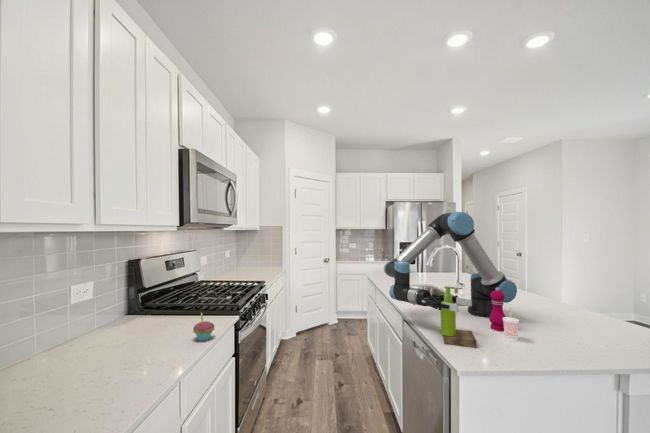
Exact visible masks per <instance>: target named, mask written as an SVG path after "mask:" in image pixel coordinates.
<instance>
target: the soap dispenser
mask: <svg viewBox="0 0 650 433" xmlns="http://www.w3.org/2000/svg"><path fill="white" fill-rule="evenodd" d="M443 289H445V293H444V294H443V295H444V301H443V302H446V303H451V304H456V303H453V302H452V296H453V295H452V294H451V290H456V291H457V290H458V289H459V288H458V287H454V286H450V285H449V286H443ZM441 304H442V302H441ZM456 313H457V312H455V311H451V310H446V309H442V308H441V310H440V334H441V335H442V336H443V335H446V336H455V335H456V329H457V327H456V326H457V325H456V321H457V320H456V319H457V318H456V315H457V314H456Z"/></svg>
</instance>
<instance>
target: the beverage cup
mask: <svg viewBox="0 0 650 433" xmlns="http://www.w3.org/2000/svg"><path fill="white" fill-rule="evenodd" d="M503 322H504V331H503V332H504V334H503V335H504V340H505V341H507V342H510V341H511V342H510V343H517V342H518V338H519V337H518V336H519V322H520V319H518V318H515V317H512V307H510V306H509V316H505V317H503Z"/></svg>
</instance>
